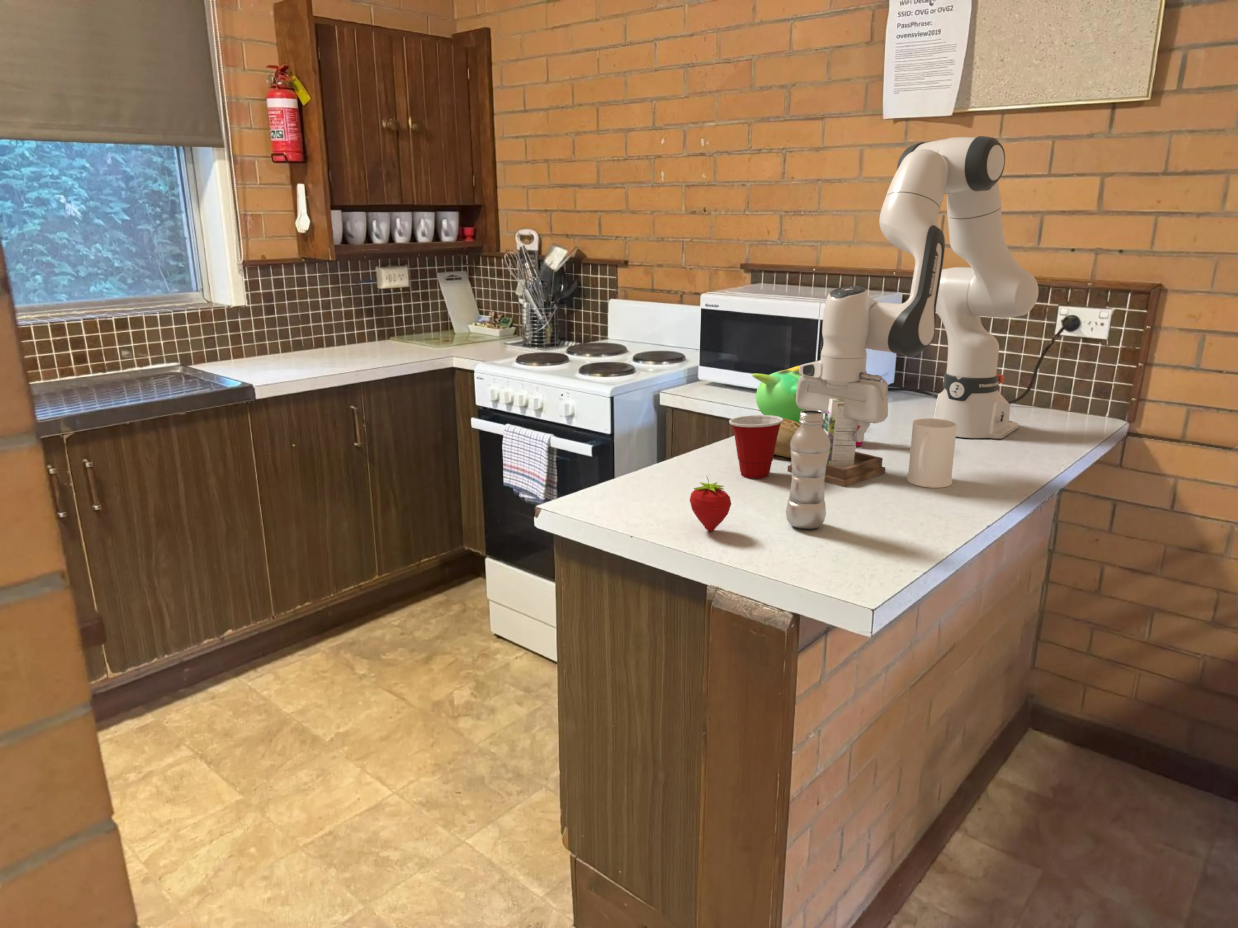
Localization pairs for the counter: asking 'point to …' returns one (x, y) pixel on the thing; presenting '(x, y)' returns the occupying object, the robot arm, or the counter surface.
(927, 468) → the mug
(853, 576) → the counter surface
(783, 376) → the toy bird
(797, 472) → the plastic bottle
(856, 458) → the walnut stand
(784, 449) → the bread roll
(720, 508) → the strawberry
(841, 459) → the syrup box
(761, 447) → the plastic cup
